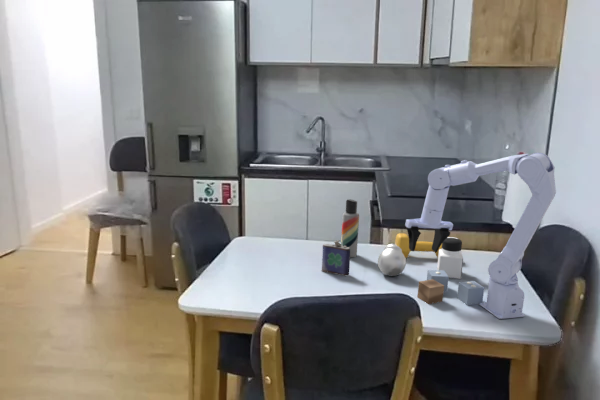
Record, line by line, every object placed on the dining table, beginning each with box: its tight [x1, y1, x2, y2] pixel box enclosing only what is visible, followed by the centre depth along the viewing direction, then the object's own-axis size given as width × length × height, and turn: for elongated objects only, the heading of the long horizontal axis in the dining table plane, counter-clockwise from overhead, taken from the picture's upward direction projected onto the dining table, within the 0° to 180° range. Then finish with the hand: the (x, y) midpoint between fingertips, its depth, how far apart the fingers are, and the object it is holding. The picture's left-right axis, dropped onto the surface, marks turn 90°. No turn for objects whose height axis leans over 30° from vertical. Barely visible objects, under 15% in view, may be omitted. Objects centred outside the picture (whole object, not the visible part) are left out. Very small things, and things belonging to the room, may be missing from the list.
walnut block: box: [417, 279, 445, 305], centre depth 154 cm, size 5×5×5 cm
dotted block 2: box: [456, 280, 485, 306], centre depth 154 cm, size 5×5×5 cm
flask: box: [321, 239, 351, 277], centre depth 171 cm, size 9×3×11 cm, turn 65°
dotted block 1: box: [426, 269, 450, 293], centre depth 162 cm, size 5×5×5 cm
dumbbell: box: [394, 232, 442, 259], centre depth 189 cm, size 19×9×8 cm, turn 89°
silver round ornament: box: [377, 243, 407, 277], centre depth 171 cm, size 9×10×10 cm
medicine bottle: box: [436, 236, 464, 280], centre depth 173 cm, size 7×7×12 cm
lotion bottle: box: [340, 198, 360, 259], centre depth 186 cm, size 6×6×20 cm
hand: (422, 250), depth 160 cm, fingers open, 7 cm apart
